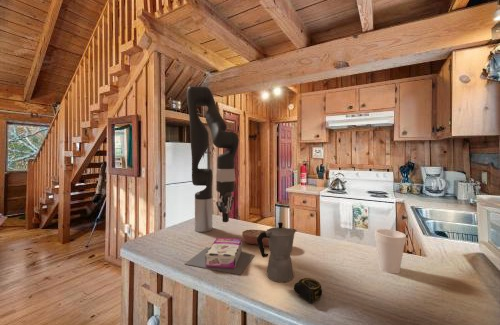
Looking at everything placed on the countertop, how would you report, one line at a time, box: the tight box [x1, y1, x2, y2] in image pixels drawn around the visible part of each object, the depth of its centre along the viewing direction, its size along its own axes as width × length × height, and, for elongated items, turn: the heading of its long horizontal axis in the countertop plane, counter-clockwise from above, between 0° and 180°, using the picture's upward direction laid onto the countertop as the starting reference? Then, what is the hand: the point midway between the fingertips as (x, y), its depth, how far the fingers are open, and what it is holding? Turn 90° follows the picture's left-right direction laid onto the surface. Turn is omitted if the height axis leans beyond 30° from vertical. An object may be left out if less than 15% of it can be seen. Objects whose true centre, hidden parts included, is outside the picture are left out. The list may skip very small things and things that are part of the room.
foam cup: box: [374, 228, 407, 274], centre depth 81 cm, size 10×9×13 cm
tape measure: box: [293, 277, 323, 304], centre depth 66 cm, size 7×7×4 cm
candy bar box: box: [205, 237, 243, 268], centre depth 89 cm, size 11×5×16 cm
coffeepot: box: [257, 221, 297, 283], centre depth 76 cm, size 15×9×18 cm, turn 116°
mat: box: [184, 246, 255, 276], centre depth 88 cm, size 16×22×1 cm
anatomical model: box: [241, 229, 269, 247], centre depth 103 cm, size 23×10×5 cm, turn 67°
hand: (225, 221), depth 93 cm, fingers closed
